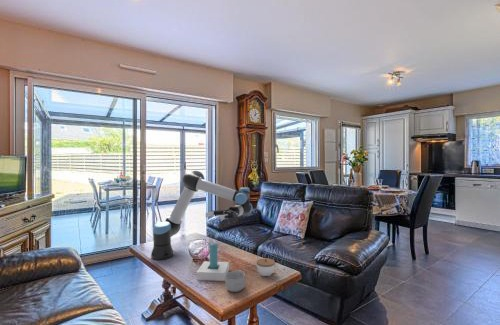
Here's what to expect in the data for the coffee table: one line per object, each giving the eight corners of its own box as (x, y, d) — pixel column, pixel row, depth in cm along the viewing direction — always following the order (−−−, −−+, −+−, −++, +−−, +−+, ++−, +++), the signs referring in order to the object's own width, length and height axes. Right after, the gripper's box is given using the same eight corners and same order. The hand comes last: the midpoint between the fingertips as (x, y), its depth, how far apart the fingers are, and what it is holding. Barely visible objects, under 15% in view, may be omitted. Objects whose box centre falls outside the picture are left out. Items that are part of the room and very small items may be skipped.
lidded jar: (276, 277, 157) (276, 261, 157) (258, 279, 155) (258, 262, 155) (272, 270, 168) (272, 254, 168) (255, 271, 166) (255, 256, 166)
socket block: (204, 268, 171) (203, 261, 171) (229, 269, 169) (229, 262, 169) (196, 279, 155) (196, 272, 155) (224, 280, 154) (224, 272, 153)
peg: (210, 272, 165) (210, 243, 164) (218, 272, 164) (218, 243, 164) (209, 275, 160) (208, 245, 160) (216, 276, 160) (216, 245, 159)
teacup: (237, 296, 136) (237, 280, 136) (220, 291, 142) (220, 275, 142) (252, 285, 148) (252, 270, 148) (235, 280, 154) (235, 266, 154)
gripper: (249, 218, 182) (226, 225, 166) (223, 214, 198) (200, 219, 182) (249, 207, 182) (226, 213, 166) (223, 204, 198) (200, 208, 182)
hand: (212, 216), depth 174 cm, fingers open, 13 cm apart
